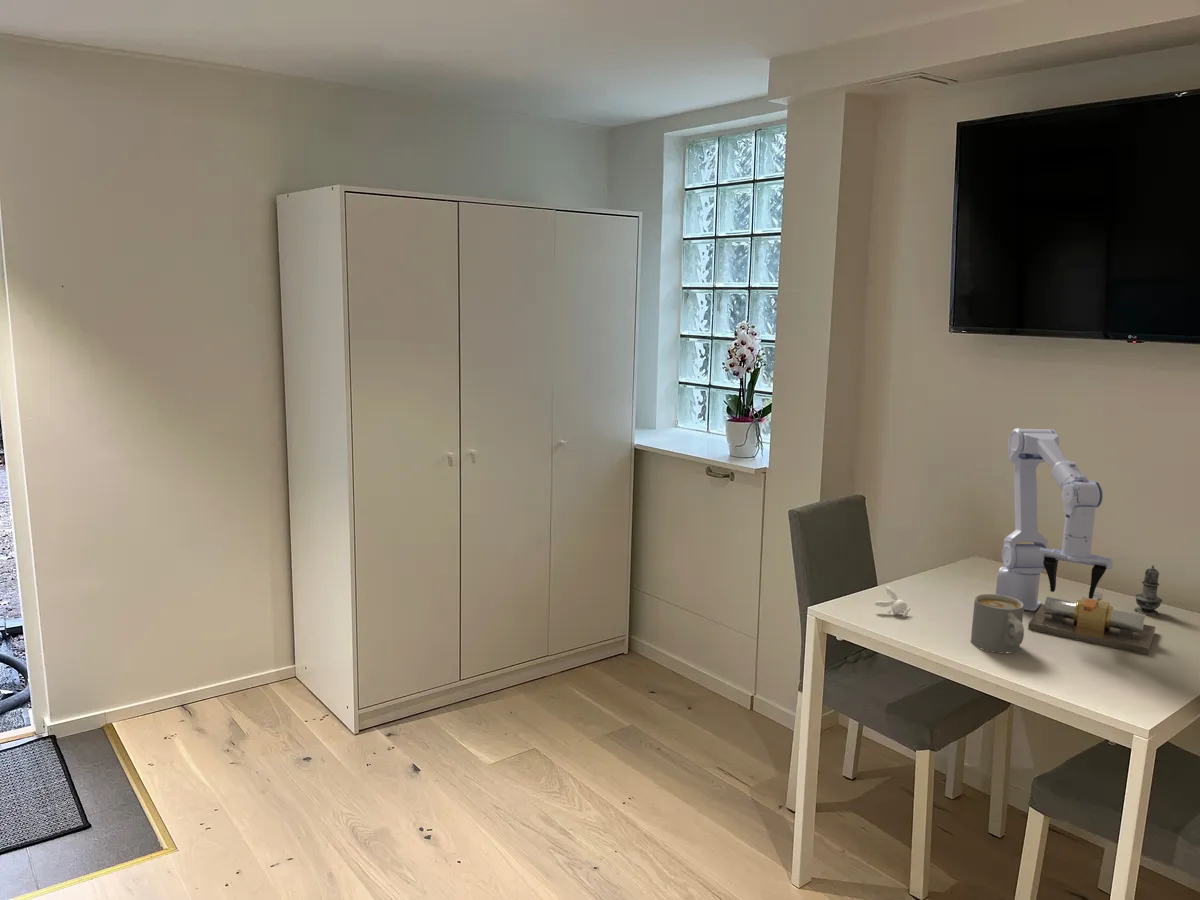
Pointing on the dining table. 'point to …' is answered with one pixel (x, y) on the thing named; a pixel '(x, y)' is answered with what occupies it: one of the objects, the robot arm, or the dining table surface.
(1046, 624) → the valve manifold
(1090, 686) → the dining table surface
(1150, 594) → the salt shaker
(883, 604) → the rabbit figurine
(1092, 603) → the valve lever
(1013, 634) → the coffee mug
